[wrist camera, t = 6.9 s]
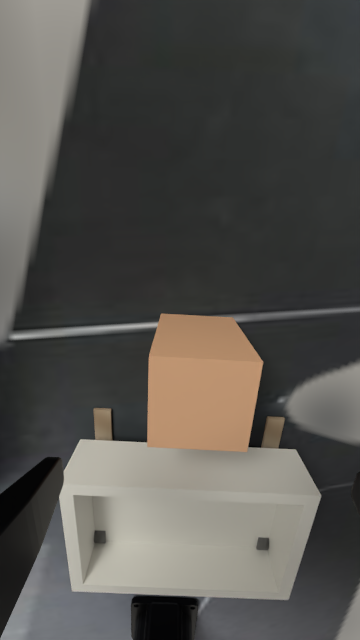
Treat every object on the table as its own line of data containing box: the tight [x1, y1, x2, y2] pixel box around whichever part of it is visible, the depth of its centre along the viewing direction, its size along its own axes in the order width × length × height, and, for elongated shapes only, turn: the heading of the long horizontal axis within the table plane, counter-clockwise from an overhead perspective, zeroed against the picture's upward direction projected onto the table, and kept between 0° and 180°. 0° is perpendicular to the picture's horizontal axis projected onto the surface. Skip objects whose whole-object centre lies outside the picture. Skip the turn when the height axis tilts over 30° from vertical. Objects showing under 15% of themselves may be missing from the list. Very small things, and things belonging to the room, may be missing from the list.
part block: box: [147, 314, 263, 452], centre depth 13 cm, size 4×4×6 cm
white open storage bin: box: [59, 439, 321, 600], centre depth 17 cm, size 10×15×4 cm, turn 87°
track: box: [94, 408, 285, 449], centre depth 20 cm, size 17×14×1 cm
